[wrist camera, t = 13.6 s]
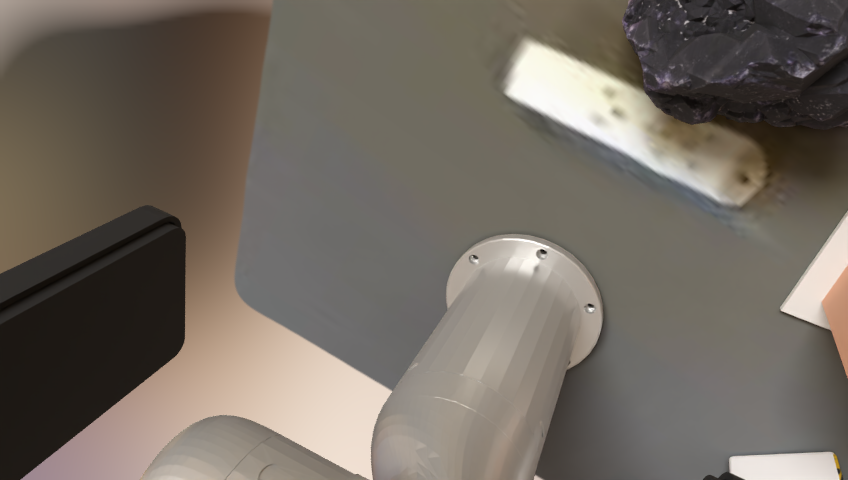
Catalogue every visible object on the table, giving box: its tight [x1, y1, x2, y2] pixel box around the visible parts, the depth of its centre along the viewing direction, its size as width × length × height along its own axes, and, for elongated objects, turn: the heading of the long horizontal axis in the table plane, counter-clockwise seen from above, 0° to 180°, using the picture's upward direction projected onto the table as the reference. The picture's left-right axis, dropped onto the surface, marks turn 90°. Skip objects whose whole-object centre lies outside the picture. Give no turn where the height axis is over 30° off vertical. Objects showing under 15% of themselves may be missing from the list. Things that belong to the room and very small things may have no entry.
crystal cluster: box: [622, 0, 848, 130], centre depth 30 cm, size 13×14×10 cm
